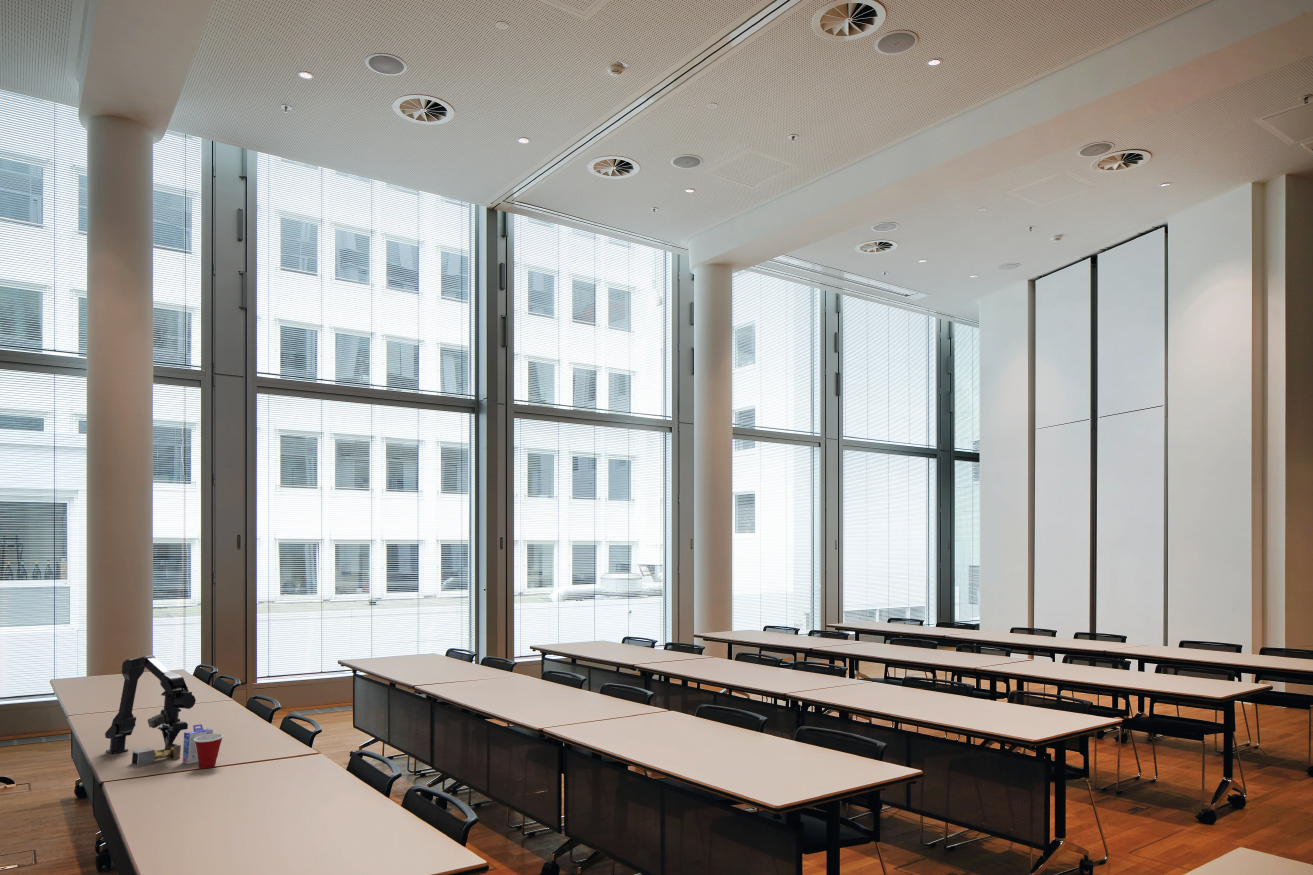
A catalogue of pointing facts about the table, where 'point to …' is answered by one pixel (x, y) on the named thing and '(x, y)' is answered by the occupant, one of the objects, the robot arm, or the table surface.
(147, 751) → the grey hammer head
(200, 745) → the plastic cup
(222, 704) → the table surface
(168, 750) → the gold elongated piece
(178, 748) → the socket block
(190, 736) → the ink cartridge box
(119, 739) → the robot arm
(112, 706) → the table surface
